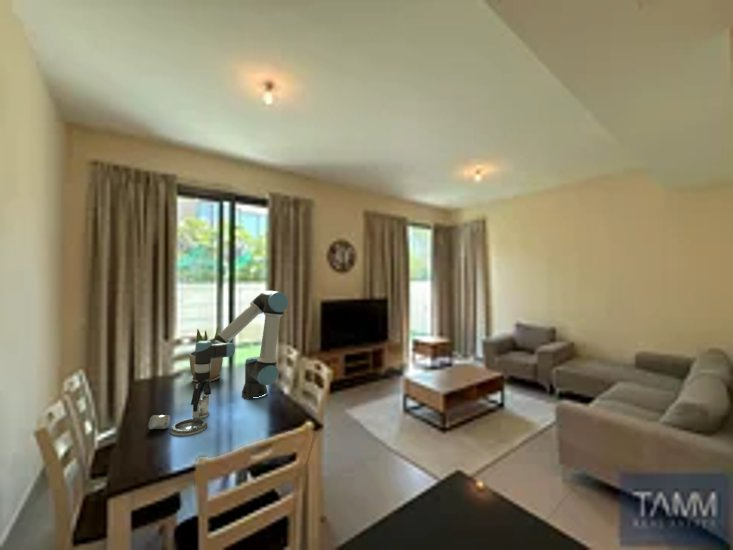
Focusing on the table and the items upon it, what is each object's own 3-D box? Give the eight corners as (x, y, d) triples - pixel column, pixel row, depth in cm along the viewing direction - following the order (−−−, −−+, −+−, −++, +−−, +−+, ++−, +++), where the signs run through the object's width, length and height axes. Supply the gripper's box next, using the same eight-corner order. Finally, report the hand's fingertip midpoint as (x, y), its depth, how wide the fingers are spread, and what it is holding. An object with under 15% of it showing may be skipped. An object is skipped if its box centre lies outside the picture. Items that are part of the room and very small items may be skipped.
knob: (210, 412, 185) (211, 396, 185) (205, 418, 177) (206, 401, 177) (196, 413, 184) (197, 396, 184) (191, 418, 177) (191, 401, 177)
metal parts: (212, 421, 174) (212, 408, 174) (199, 436, 158) (200, 422, 158) (160, 421, 172) (160, 409, 172) (142, 436, 156) (142, 423, 156)
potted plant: (187, 386, 226) (188, 325, 226) (189, 377, 245) (191, 320, 245) (222, 383, 234) (223, 323, 234) (221, 374, 254) (223, 319, 254)
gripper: (204, 364, 193) (202, 403, 193) (184, 378, 168) (182, 421, 168) (218, 365, 193) (216, 403, 193) (200, 378, 169) (198, 421, 168)
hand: (200, 412), depth 181 cm, fingers open, 13 cm apart
